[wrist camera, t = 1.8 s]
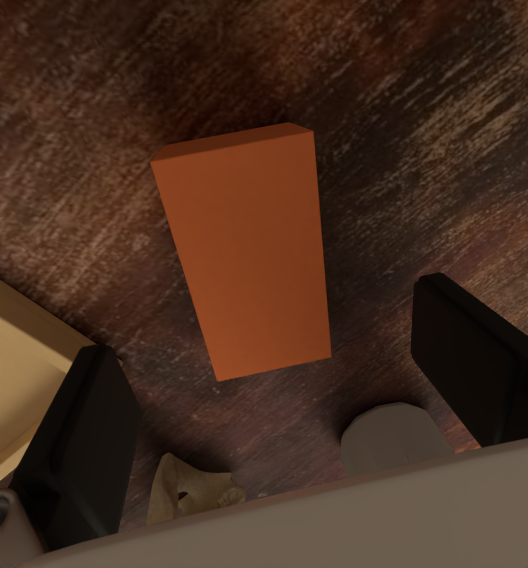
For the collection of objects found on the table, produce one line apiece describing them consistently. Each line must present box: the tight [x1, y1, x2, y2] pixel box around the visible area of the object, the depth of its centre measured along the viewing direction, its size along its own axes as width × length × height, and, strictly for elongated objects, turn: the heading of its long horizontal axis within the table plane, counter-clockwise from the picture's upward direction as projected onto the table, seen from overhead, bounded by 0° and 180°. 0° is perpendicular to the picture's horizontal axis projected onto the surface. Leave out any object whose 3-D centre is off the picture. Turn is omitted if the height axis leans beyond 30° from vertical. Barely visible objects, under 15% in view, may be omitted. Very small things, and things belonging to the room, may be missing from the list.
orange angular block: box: [150, 122, 331, 381], centre depth 16 cm, size 10×6×4 cm, turn 9°
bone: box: [146, 453, 246, 526], centre depth 22 cm, size 9×6×10 cm
